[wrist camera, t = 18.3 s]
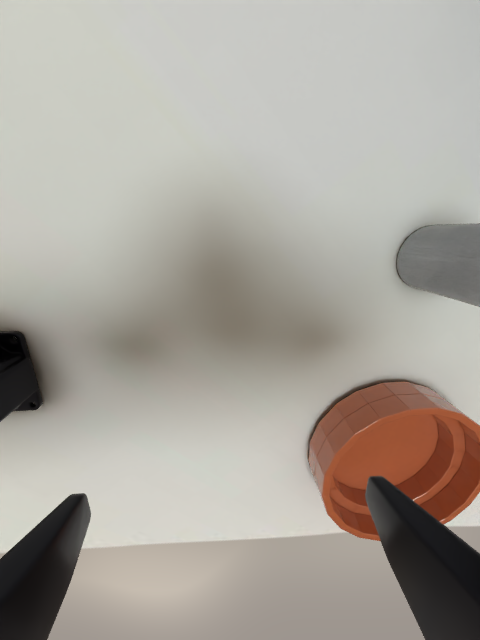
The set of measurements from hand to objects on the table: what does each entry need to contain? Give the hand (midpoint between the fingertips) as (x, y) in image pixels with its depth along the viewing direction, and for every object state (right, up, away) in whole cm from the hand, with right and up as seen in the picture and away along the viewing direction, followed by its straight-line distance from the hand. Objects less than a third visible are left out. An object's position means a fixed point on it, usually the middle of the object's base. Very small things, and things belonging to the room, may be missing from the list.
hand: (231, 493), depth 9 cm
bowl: (+13, -6, +17) cm, 22 cm away
